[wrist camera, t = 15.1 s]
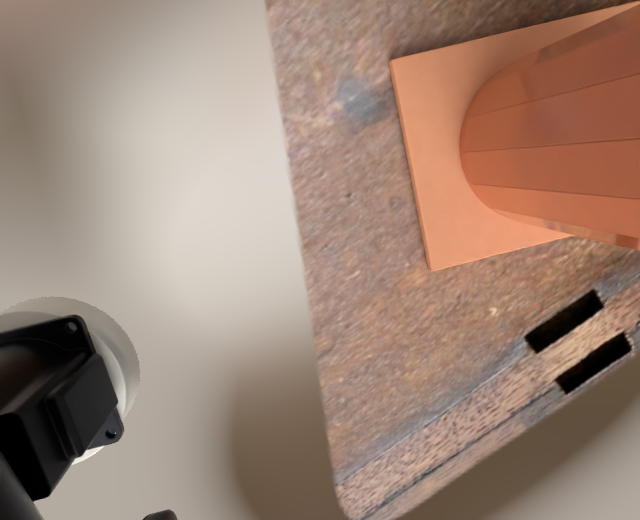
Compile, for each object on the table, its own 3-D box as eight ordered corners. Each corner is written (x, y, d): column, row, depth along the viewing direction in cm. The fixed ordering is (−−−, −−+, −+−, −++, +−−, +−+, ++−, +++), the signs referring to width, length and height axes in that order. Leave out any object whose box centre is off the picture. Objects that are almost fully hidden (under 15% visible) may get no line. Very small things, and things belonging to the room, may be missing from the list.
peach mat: (428, 269, 21) (431, 271, 20) (388, 62, 19) (391, 59, 18) (658, 210, 21) (666, 211, 21) (641, 1, 19) (650, -3, 19)
